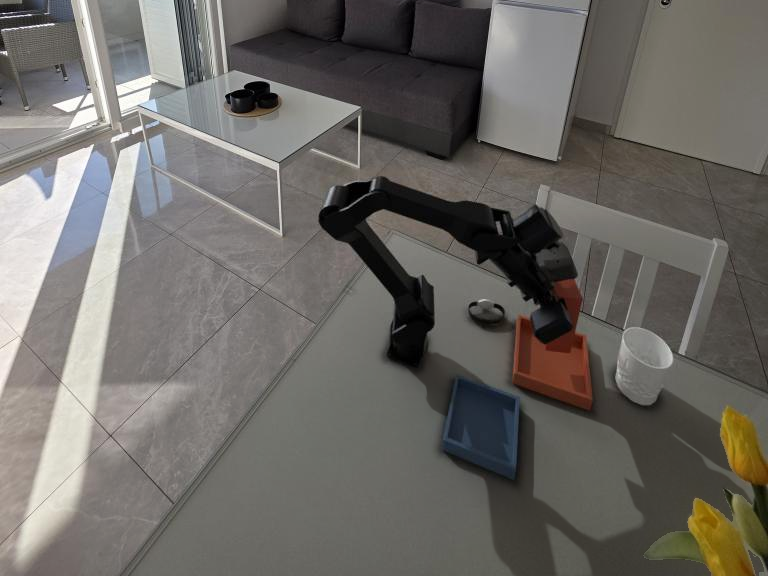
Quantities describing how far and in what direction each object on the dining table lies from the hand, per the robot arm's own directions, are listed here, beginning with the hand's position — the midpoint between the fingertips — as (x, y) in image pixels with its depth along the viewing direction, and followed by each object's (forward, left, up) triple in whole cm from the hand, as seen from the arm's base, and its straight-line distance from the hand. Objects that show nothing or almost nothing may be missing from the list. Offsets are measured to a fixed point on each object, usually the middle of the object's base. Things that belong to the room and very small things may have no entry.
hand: (567, 315), depth 79 cm
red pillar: (-1, 0, -7) cm, 7 cm away
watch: (-14, +6, -13) cm, 20 cm away
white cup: (+14, +1, -13) cm, 19 cm away
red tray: (-1, 0, -12) cm, 13 cm away
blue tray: (-12, -16, -12) cm, 24 cm away
